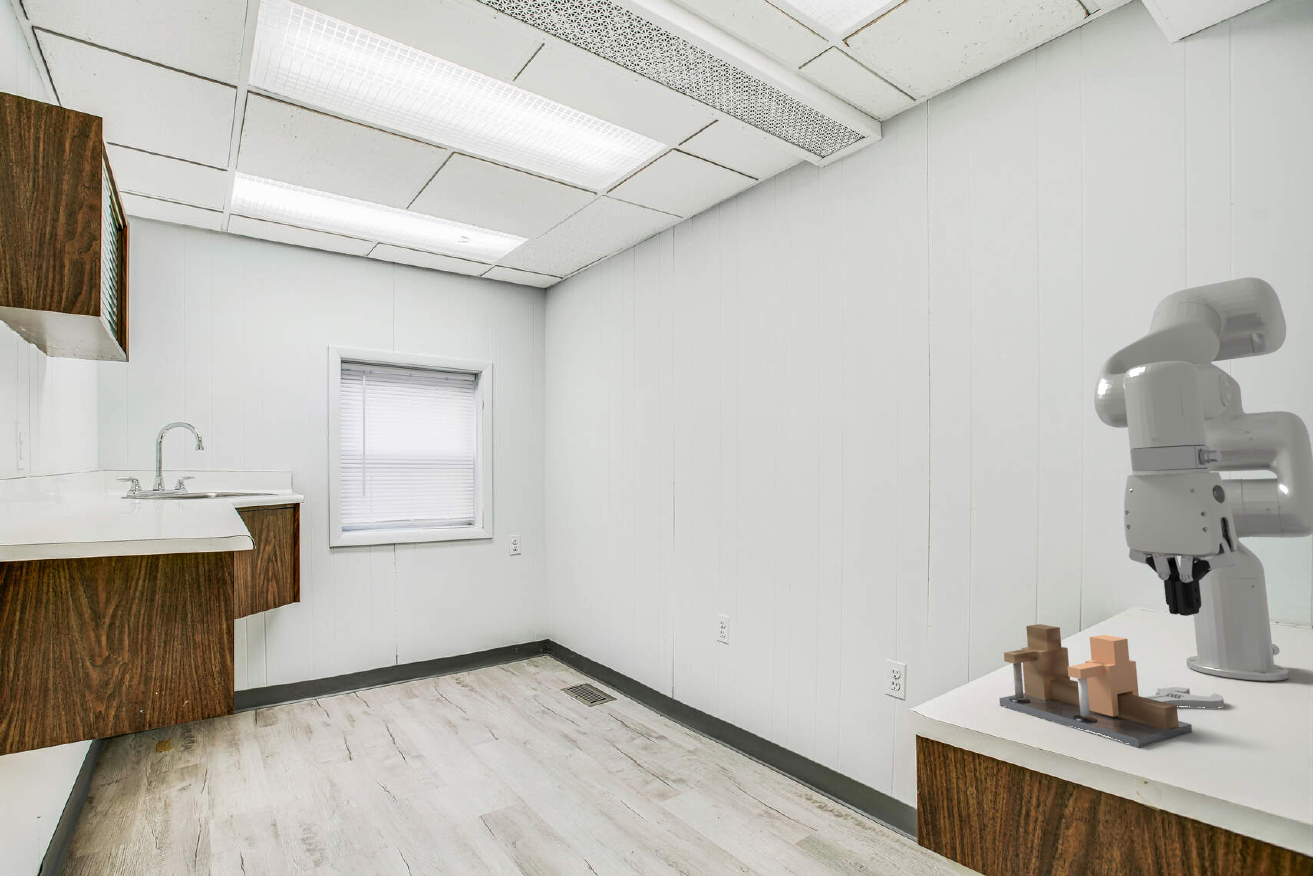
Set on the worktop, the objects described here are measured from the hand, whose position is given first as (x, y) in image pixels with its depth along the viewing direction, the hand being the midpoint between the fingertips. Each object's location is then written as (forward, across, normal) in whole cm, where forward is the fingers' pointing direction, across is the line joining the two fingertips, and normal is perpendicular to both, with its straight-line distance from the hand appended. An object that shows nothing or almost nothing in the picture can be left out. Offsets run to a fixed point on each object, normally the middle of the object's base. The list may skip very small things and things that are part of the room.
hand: (1184, 613), depth 79 cm
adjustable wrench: (+16, +11, -7) cm, 20 cm away
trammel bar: (+14, +11, +4) cm, 18 cm away
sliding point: (+14, +9, +4) cm, 16 cm away
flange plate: (+15, +10, +4) cm, 19 cm away
